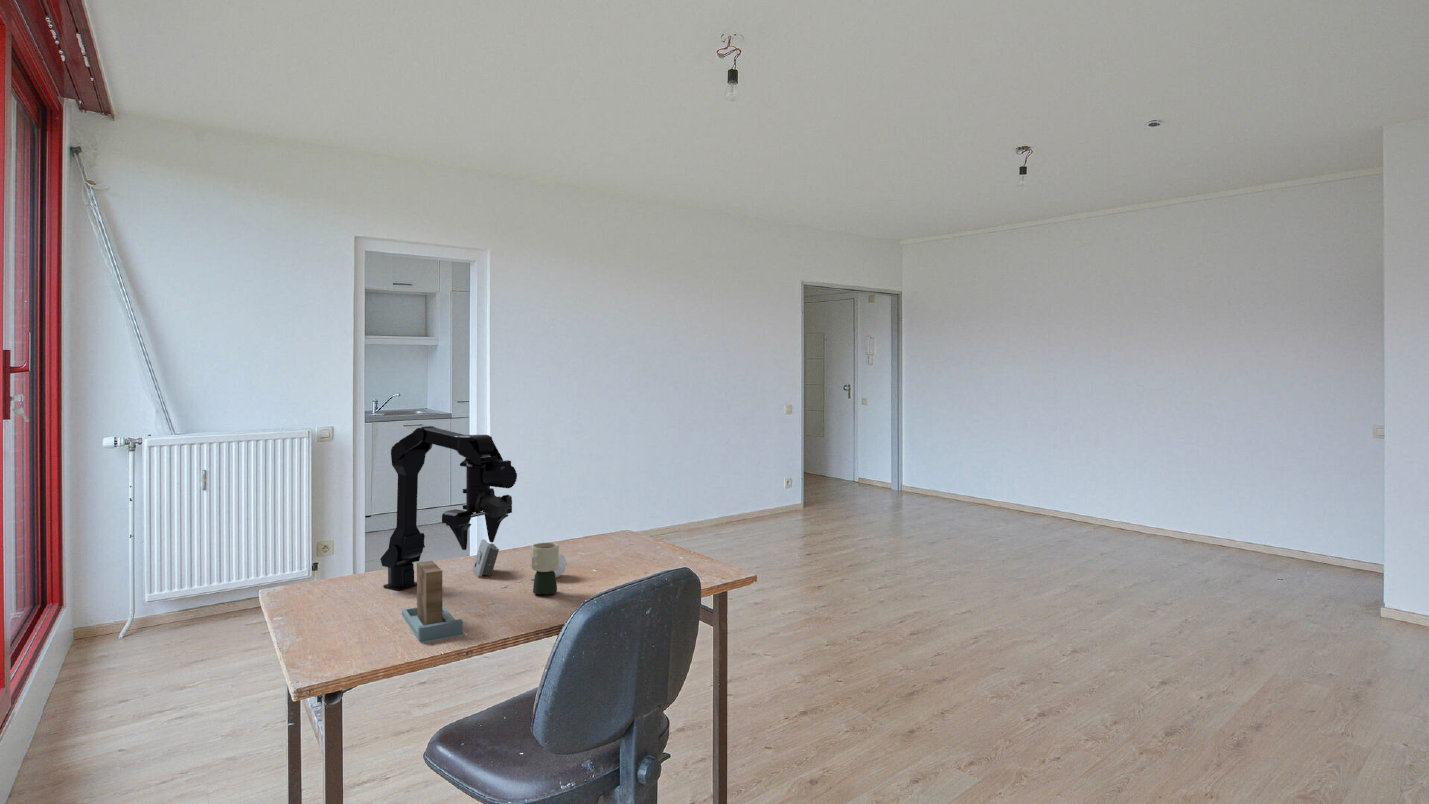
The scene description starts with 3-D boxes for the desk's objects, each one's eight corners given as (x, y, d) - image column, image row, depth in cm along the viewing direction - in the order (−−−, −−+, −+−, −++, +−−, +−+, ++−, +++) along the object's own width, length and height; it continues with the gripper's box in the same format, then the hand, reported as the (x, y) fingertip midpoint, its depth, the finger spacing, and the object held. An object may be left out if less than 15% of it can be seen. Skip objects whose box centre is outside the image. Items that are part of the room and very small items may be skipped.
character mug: (546, 586, 200) (546, 539, 200) (568, 589, 197) (568, 542, 197) (520, 597, 190) (521, 548, 190) (543, 601, 187) (543, 551, 187)
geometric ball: (548, 585, 210) (546, 559, 215) (572, 577, 209) (570, 551, 213) (534, 578, 204) (532, 551, 208) (559, 570, 203) (557, 543, 207)
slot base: (401, 617, 174) (401, 602, 173) (441, 611, 179) (441, 596, 178) (420, 646, 156) (420, 629, 156) (463, 638, 161) (463, 622, 161)
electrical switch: (472, 570, 215) (475, 538, 215) (490, 569, 218) (493, 538, 217) (478, 578, 207) (481, 546, 207) (496, 578, 209) (500, 545, 209)
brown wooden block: (417, 616, 173) (416, 562, 172) (432, 614, 174) (432, 560, 174) (426, 629, 164) (426, 572, 164) (442, 627, 166) (442, 570, 166)
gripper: (473, 493, 172) (473, 558, 173) (528, 482, 189) (527, 542, 189) (440, 488, 177) (440, 552, 178) (495, 479, 194) (495, 537, 195)
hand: (478, 545), depth 185 cm, fingers open, 9 cm apart
